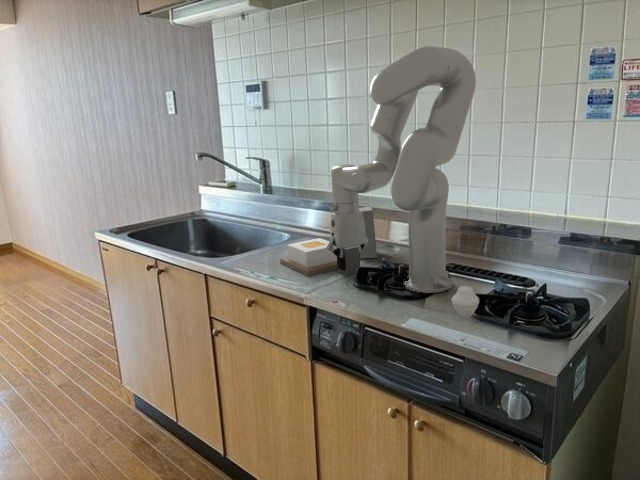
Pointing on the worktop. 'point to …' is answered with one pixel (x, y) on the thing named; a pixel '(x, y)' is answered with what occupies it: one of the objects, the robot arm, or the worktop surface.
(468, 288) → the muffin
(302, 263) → the socket
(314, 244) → the plate
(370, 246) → the skincare box
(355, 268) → the plug
